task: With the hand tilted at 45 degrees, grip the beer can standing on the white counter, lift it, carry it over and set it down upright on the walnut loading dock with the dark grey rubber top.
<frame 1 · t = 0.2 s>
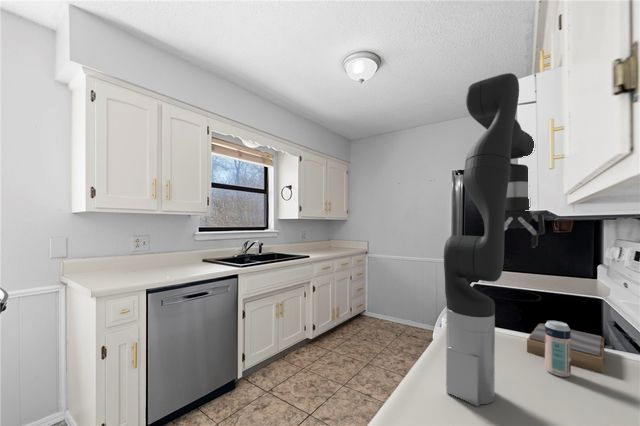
hand: (517, 246, 92), 29 cm above the worktop, tool pointing down, fingers open, 8 cm apart
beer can: (557, 373, 69), on the worktop
dock: (565, 351, 81), on the worktop
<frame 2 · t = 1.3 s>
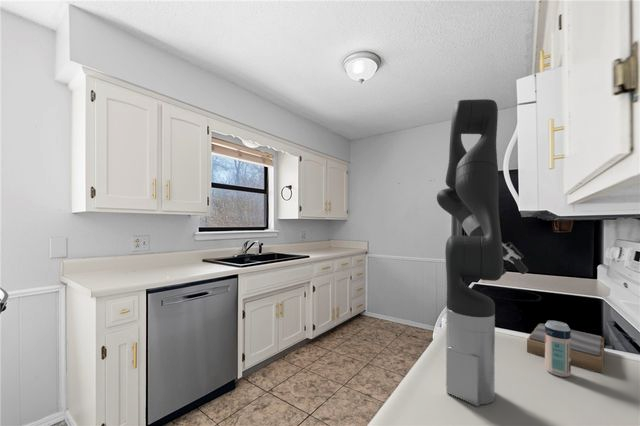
hand: (514, 273, 80), 22 cm above the worktop, tool tilted 45°, fingers open, 8 cm apart
nothing on the worktop moved.
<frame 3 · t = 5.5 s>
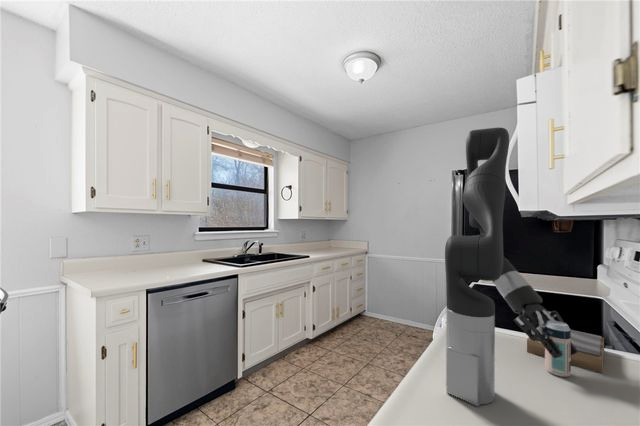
hand: (566, 354, 67), 5 cm above the worktop, tool tilted 45°, fingers closed on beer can, 4 cm apart
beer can: (557, 373, 69), on the worktop, touching gripper
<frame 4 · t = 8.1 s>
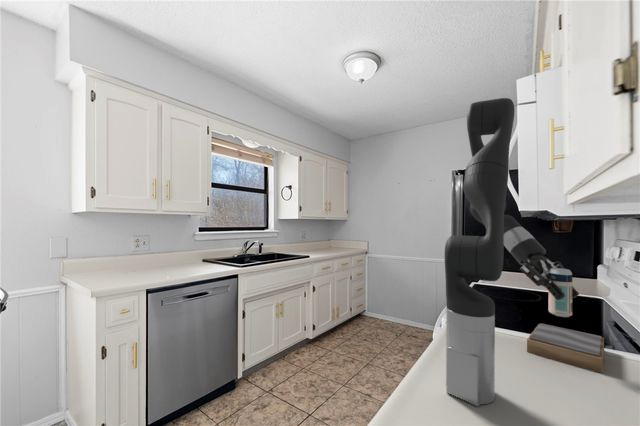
hand: (568, 297, 73), 17 cm above the worktop, tool tilted 45°, fingers closed on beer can, 4 cm apart
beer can: (560, 315, 75), point 12 cm above the worktop, touching gripper
when the fingers open (10 cm above the worktop, at t = 10.8 s): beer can drops 1 cm, resting on dock.
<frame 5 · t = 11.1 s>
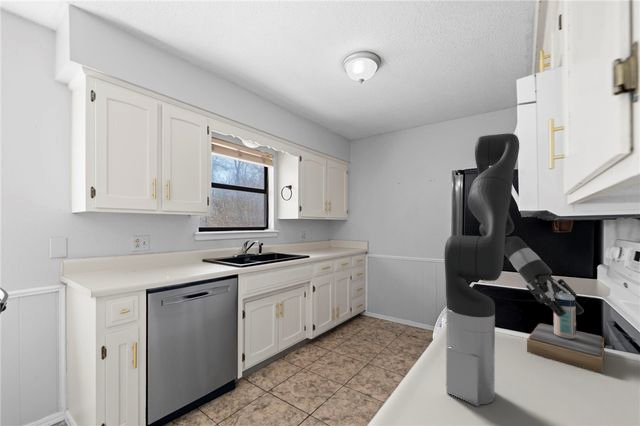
hand: (571, 314, 80), 11 cm above the worktop, tool tilted 45°, fingers open, 7 cm apart
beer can: (564, 337, 81), point 4 cm above the worktop, touching dock
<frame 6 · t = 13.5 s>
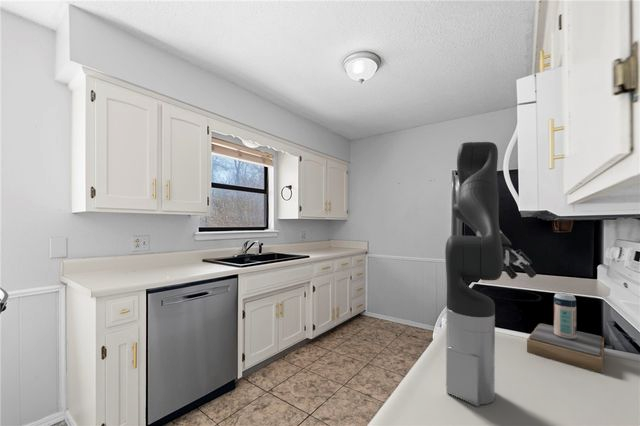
hand: (524, 277, 92), 19 cm above the worktop, tool tilted 45°, fingers open, 8 cm apart
nothing on the worktop moved.
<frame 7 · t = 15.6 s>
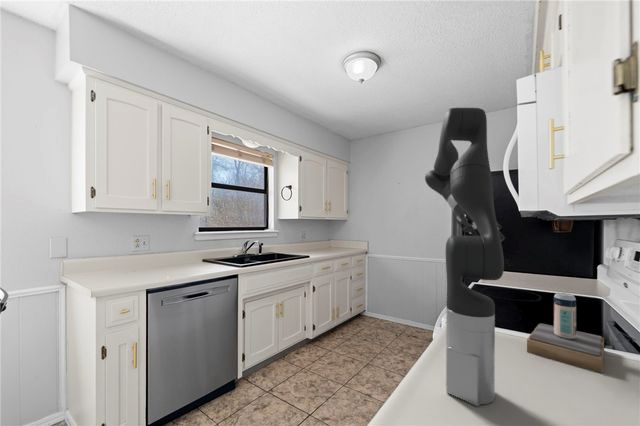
hand: (492, 240, 89), 31 cm above the worktop, tool tilted 45°, fingers open, 8 cm apart
nothing on the worktop moved.
at the end: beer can inside the target area on the dock (0.2 cm from its centre), point 3.8 cm above the dock's base; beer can tilted 0°; the gripper is holding nothing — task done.
